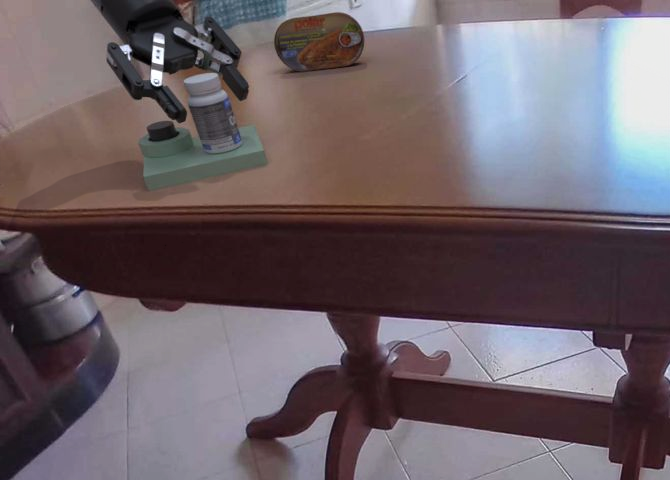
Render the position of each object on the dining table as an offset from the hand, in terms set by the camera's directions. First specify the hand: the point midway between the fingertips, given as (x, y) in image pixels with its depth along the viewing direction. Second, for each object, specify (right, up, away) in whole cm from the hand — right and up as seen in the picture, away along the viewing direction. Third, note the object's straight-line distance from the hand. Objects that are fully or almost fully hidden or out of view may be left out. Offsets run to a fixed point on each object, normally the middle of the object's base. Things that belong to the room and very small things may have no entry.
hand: (215, 107), depth 82 cm
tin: (+4, +20, +39) cm, 44 cm away
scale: (-3, -5, +6) cm, 8 cm away
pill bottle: (0, -4, +4) cm, 6 cm away
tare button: (-8, -2, +5) cm, 10 cm away
